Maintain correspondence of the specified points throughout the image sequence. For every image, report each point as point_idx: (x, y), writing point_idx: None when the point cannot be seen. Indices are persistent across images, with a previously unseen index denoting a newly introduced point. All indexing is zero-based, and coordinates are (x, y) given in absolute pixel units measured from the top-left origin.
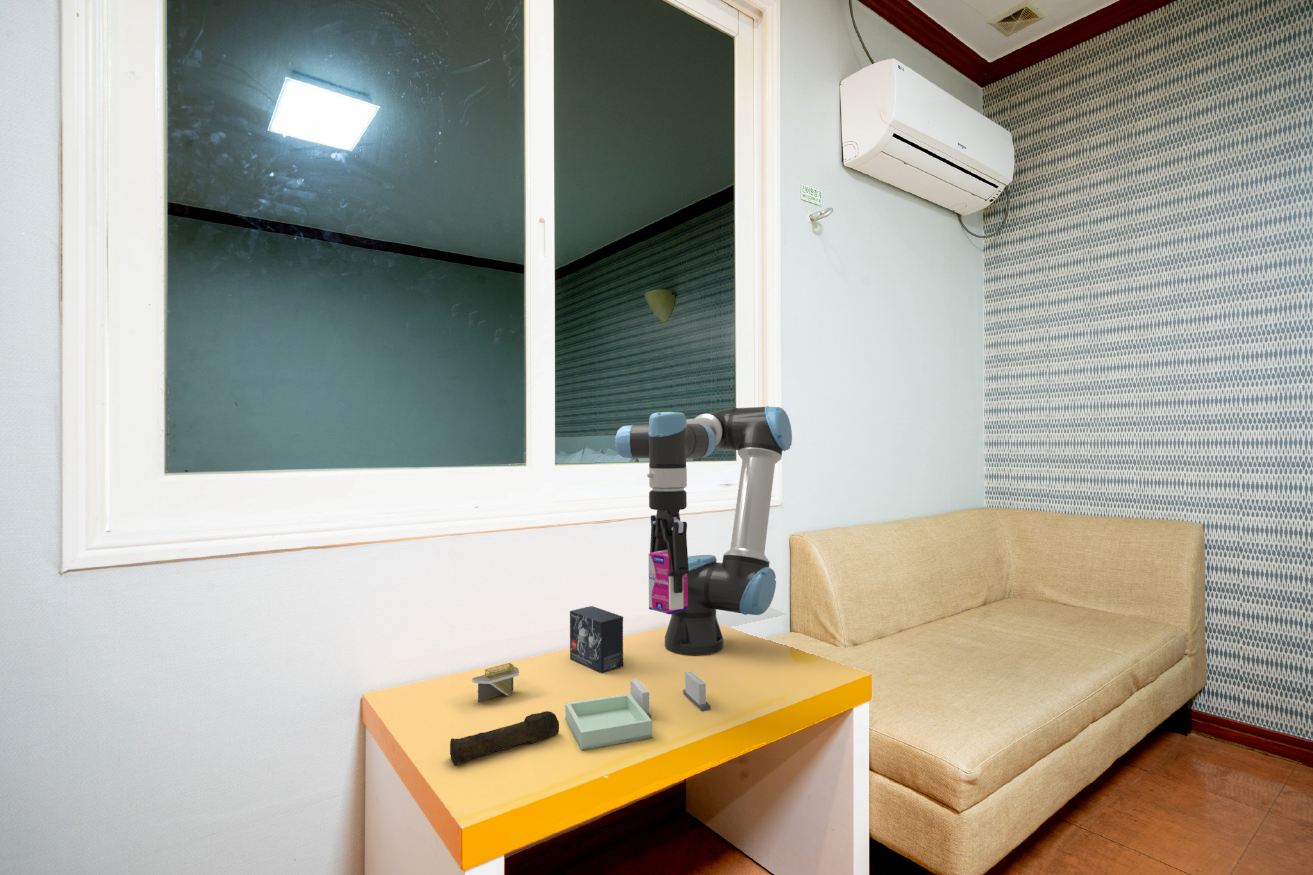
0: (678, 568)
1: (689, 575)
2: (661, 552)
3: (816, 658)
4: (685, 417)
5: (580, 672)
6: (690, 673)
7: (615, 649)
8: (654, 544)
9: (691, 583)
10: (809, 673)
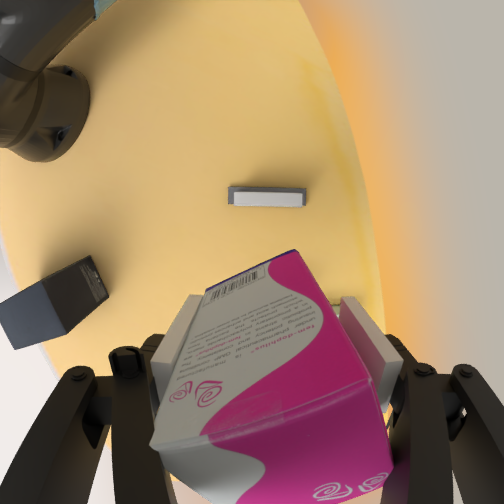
0: (463, 419)
1: None
2: (260, 499)
3: None
4: None
5: (101, 322)
6: (243, 198)
7: (81, 281)
8: (84, 482)
9: None
10: None
